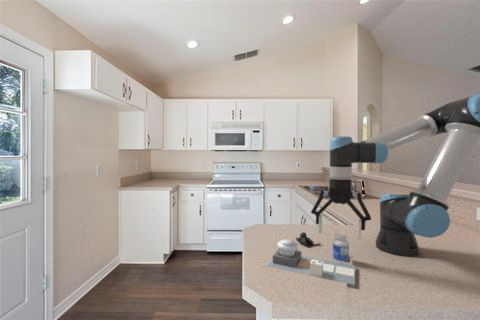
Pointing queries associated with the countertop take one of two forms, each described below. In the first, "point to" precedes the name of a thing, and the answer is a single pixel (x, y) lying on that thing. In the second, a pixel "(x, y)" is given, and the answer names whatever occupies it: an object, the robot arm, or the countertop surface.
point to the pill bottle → (340, 247)
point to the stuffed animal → (306, 240)
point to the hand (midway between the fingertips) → (339, 235)
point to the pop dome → (287, 247)
